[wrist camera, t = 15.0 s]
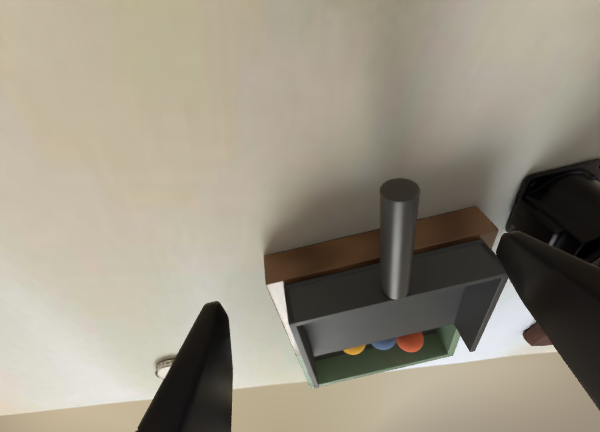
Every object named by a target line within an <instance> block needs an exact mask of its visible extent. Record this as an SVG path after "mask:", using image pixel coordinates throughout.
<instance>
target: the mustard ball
mask: <svg viewBox="0 0 600 432" xmlns="http://www.w3.org/2000/svg"><path fill="white" fill-rule="evenodd" d="M365 346H366V345H362V346H358V347H353V348H349V349H345V350H343V351H344V352H345V353H347V354H351V355H356V354H359V353H360V352H362V351H363V350H364V348H365Z"/></svg>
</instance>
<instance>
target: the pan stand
mask: <svg viewBox="0 0 600 432" xmlns="http://www.w3.org/2000/svg"><path fill="white" fill-rule="evenodd" d="M497 233H498V228H497V227H496V226H495V225H494V224H493V223H492V222H491V221H490V220H489V219H488V218H487V217H486V216H485V215H484V214H483V213H482V212H481V211H480V210H479V208H478V207H476V206H475V207H471V208H467V209H462V210H458V211H454V212H450V213H445V214H441V215H437V216H433V217H429V218H424V219H420V220H417V223H416V232H415V242H414V251H413V255H415V254H419V253H423V252H427V251H432V250H436V249H440V248H444V247H449V246H453V245H457V244H461V243H465V242H470V241H474V240H478V239H483V241H484V242H485V243H486V244H487V245H488V246H489V248H490V249H492V247H493V244H494V241H495V238H496V236H497ZM376 263H380V229H378V230H374V231H369V232H365V233H361V234H357V235H352V236H348V237H344V238H340V239H336V240H331V241H327V242H323V243H319V244H314V245H310V246H306V247H302V248H297V249H293V250H289V251H285V252H281V253H276V254H272V255H268V256H264V268H265V281H266V286H267V288H268V291H269V293H270V295H271V298H272V300H273V302H274V305H275V307H276V309H277V312H278V314H279V316H280V319H281V321H282V323H283V326H284V328H285V330H286V333H287V335H288V337H289V339H290V342H291V344H292V346H293V349H294V351H295V353H296V355H297V356H298V355H301V354H300V351H299V349H298V346H297V344H296V341H295V339H294V337H293V334H292V332H291V329H290V327H289V324H288V316H287V309H286V301H285V294H284V285H287V284H292V283H296V282H300V281H304V280H309V279H313V278H317V277H321V276H326V275H330V274H334V273H338V272H343V271H347V270H351V269H355V268H360V267H364V266H368V265H372V264H376Z"/></svg>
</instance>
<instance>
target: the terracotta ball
mask: <svg viewBox="0 0 600 432" xmlns="http://www.w3.org/2000/svg"><path fill="white" fill-rule="evenodd" d="M396 342H397V344H398V345H399V347H400V348H401V349H403V350H404V351H406V352H416V351H418V350H420V349H421V347H422V346H423V343H424V337H423V334H422V332H417V333H413V334H409V335H404V336H400V337H397V339H396Z"/></svg>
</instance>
